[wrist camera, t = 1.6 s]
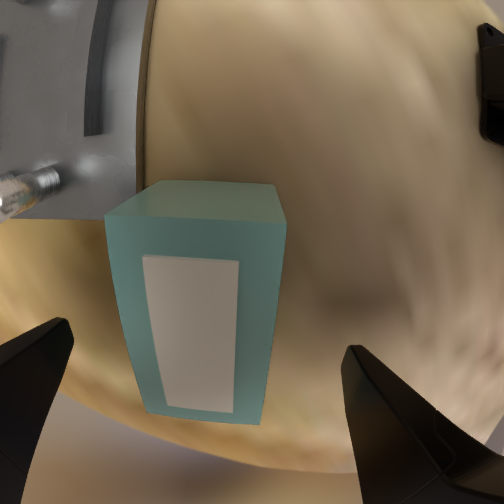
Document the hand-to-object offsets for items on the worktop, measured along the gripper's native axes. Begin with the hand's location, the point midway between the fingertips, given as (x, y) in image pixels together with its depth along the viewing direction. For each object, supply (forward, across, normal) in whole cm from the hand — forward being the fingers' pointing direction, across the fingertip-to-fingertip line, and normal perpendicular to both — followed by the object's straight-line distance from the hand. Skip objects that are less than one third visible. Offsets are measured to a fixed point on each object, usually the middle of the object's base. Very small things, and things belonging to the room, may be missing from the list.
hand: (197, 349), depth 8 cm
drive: (+5, 0, 0) cm, 5 cm away
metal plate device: (+5, +9, -9) cm, 14 cm away
